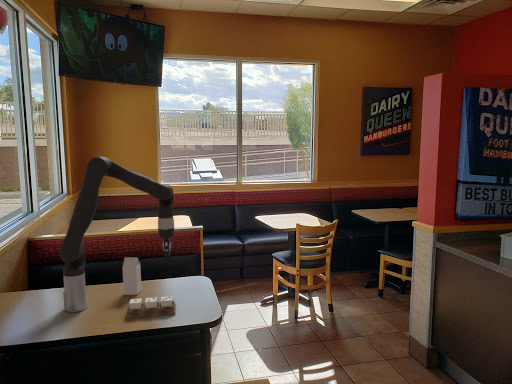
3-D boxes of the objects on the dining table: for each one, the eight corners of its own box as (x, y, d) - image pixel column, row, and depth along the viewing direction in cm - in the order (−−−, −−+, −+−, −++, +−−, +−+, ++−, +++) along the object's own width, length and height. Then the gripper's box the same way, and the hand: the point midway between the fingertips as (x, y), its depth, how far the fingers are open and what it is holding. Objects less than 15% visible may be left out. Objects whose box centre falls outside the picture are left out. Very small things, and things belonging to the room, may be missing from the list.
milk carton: (137, 295, 207) (135, 259, 205) (123, 295, 207) (121, 259, 205) (141, 290, 214) (139, 255, 212) (128, 290, 214) (126, 255, 212)
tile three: (161, 307, 184) (160, 300, 184) (161, 303, 189) (161, 296, 189) (172, 306, 185) (171, 299, 185) (172, 302, 190) (172, 295, 190)
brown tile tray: (125, 318, 180) (125, 311, 179) (128, 309, 189) (128, 303, 189) (175, 314, 183) (175, 307, 183) (176, 305, 193) (175, 299, 193)
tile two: (145, 308, 183) (145, 301, 183) (146, 304, 188) (146, 297, 188) (156, 307, 184) (156, 301, 184) (157, 303, 189) (157, 296, 188)
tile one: (129, 309, 182) (129, 303, 182) (131, 305, 187) (130, 298, 186) (140, 308, 183) (140, 302, 182) (142, 304, 188) (141, 298, 187)
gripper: (158, 224, 194) (160, 256, 196) (157, 230, 180) (158, 265, 182) (174, 223, 196) (175, 255, 198) (174, 229, 182) (175, 264, 184)
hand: (167, 260), depth 190 cm, fingers open, 8 cm apart
